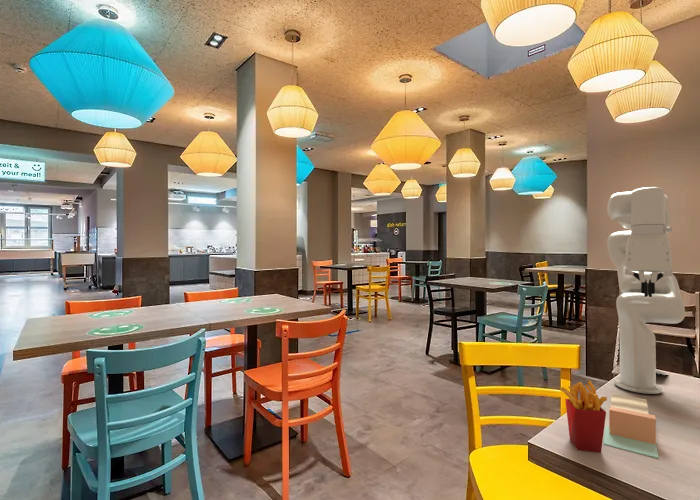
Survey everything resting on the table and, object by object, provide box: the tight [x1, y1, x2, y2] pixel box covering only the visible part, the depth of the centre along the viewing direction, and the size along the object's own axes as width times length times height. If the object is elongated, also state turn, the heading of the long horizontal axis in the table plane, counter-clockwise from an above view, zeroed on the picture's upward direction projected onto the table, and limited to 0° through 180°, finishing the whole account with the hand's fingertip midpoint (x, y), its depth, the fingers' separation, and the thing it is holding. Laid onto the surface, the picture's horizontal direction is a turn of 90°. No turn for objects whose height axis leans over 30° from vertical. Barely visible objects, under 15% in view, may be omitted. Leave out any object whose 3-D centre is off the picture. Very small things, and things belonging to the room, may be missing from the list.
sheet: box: [610, 393, 649, 414], centre depth 101 cm, size 16×8×4 cm, turn 144°
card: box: [608, 405, 657, 446], centre depth 92 cm, size 6×9×2 cm
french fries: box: [560, 380, 608, 454], centre depth 89 cm, size 9×8×15 cm
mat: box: [603, 425, 659, 459], centre depth 90 cm, size 11×10×1 cm
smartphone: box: [656, 369, 666, 376], centre depth 137 cm, size 7×15×1 cm, turn 130°
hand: (647, 296), depth 106 cm, fingers closed
